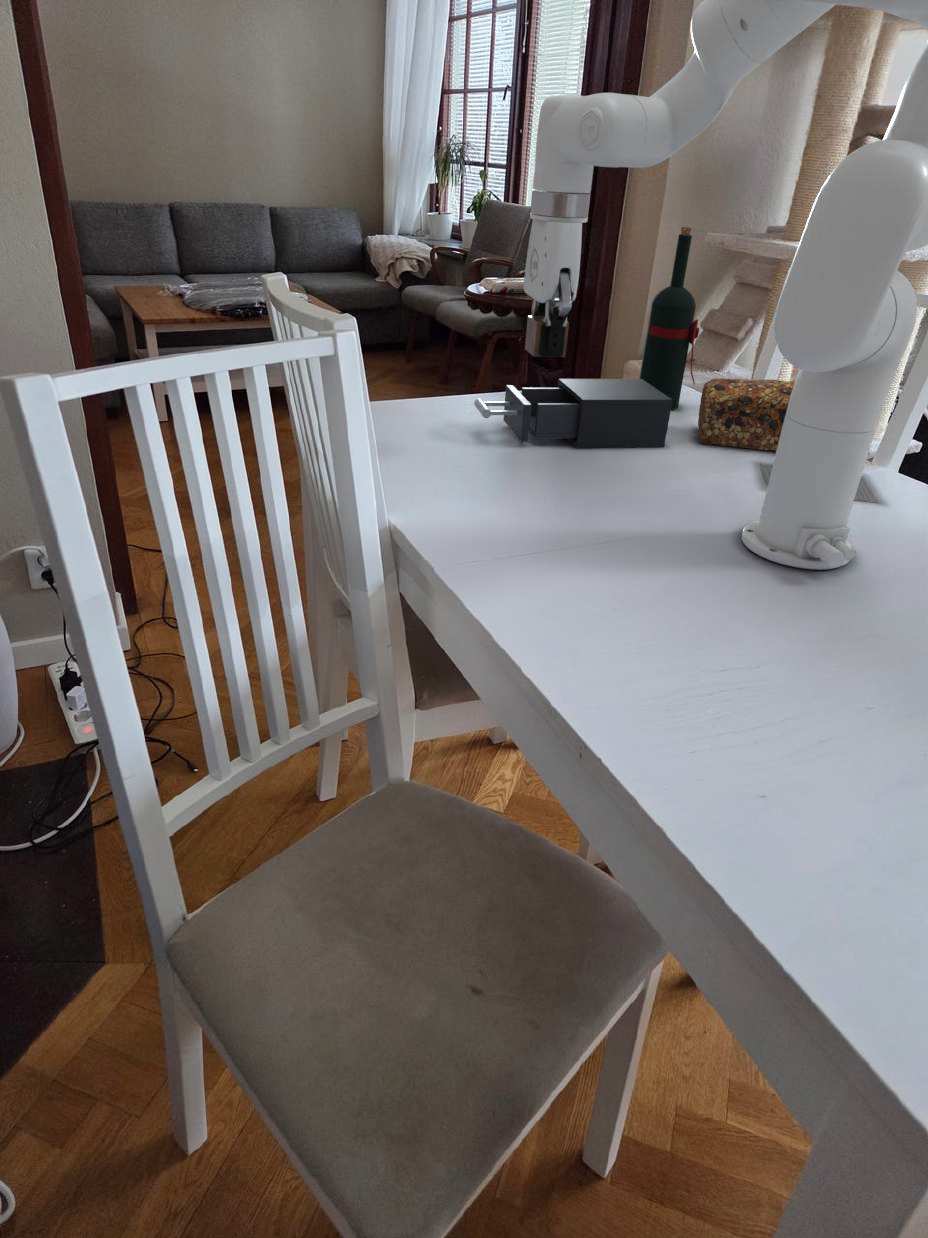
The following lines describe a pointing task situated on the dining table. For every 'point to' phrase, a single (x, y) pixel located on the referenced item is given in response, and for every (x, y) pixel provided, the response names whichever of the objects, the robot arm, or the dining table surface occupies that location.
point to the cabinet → (619, 413)
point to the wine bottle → (671, 329)
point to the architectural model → (862, 492)
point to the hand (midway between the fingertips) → (545, 350)
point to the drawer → (537, 412)
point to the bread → (743, 412)
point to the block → (538, 335)
